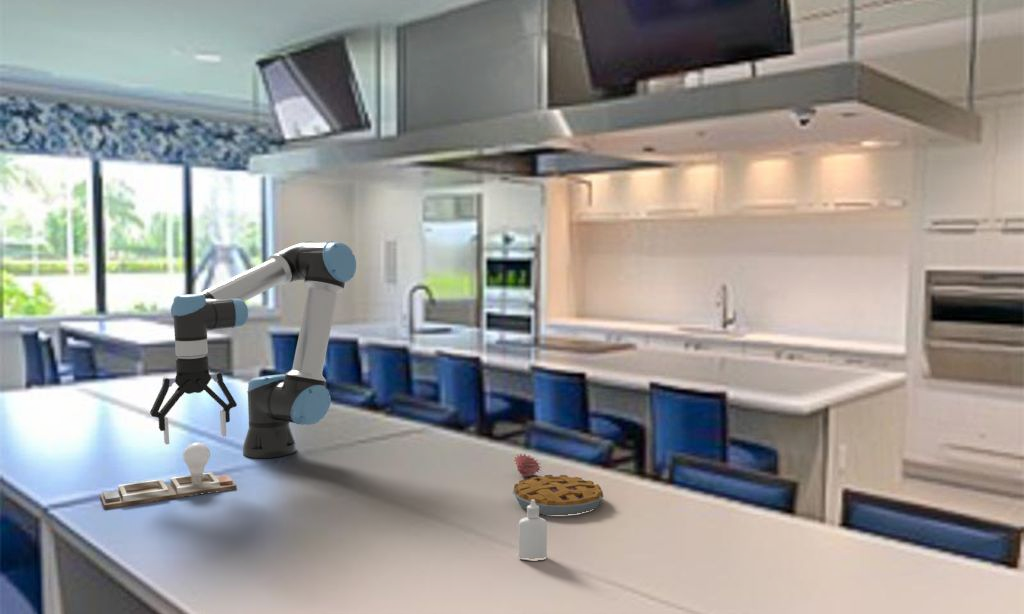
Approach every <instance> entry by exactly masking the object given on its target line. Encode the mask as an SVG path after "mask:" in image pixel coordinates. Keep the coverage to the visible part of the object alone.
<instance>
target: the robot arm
mask: <svg viewBox="0 0 1024 614" xmlns="http://www.w3.org/2000/svg"><path fill="white" fill-rule="evenodd" d="M356 259H357V258H356V256H355V254H354V253H353V250H352V249H351V247H349V245H347V244H346V243H343V242H340V241H339V242H338V241H332V240H331V241H303V242H299V243H296V244H294V245H290V246H289V247H286V248H284V249H282V250H280V251H278V252H276V253H274V254H271V255H270V256H269V257H268V259H267V261H264V262H263V263H260V264H259V265H256V266H254V267H252V268H250V269H248V270H246V271H243V272H242V273H240V274H237V275H235V276H233V277H231V278H229V279H226V280H224V281H223V282H221V283H218V284H216V285H214V286H212V287H210V288H208V289H205V290H203V291H201V292H199V293H189V294H178V295H176V296H175V297H174V298H173V301H172V305H171V307H170V314H171V317H172V319H173V326H174V329H173V331H174V332H173V333H174V343H175V344H174V346H175V356H177V357H176V359H175V368H176V369H175V371H176V374H175V377H167V376H164V377H163V378H162V383H161V384H162V386H161V388H160V390H159V392H158V395H157V397H156V399H155V401H154V403H153V405H152V408H151V409H150V411H149V415H151V417H153V418H157V419H158V429H159V431H160V432H163V440H164V444H165V445H169V444H170V431H169V430H170V429H169V418H168V416H167V415H168V413H169V412H170V410H172V409H173V407H174V406H175V404H176V403H177V402H178V401H179V400H180V398H181V397H182V396H183V395H184V394H187V395H190V394H194V393H197V394H198V393H203V391H205V392H206V393H207V395H209V396H210V397H211V398H212V399H213V400H214V401H215V402H216V403H217V404H219V406H221V408H222V409H219V417H220V421H219V422H220V435H221V436H222V437H227V423H229V422H230V421H231V417H230V414H231V413H230V412H231V409H232V408H235V407H237V406H238V405H237V402H236V400H235V399H234V397H233V396H232V393H231V392H230V390H229V389H228V387H227V386H226V384H225V382H224V378H223V374H222V373H221V372H219V371H216V372H215V373H211V374H210V371H209V370H210V369H209V368H210V367H209V357H208V356H207V354H209V353H208V352H209V349H208V348H209V347H208V331H212V330H220V329H222V330H223V329H231V328H232V329H234V328H238V327H242V326H244V325H245V324H246V322H247V321H248V318H249V309H248V308H249V307H248V305H247V304H246V302H247V301H248V300H250V299H252V298H254V297H256V296H258V295H260V294H262V293H264V292H267V291H268V290H271V289H272V288H274V287H276V286H278V285H283V286H284V285H288V284H289V283H291V282H296V281H303V284H304V285H305V286H306V288H307V292H306V297H305V304H304V308H303V312H302V318H301V324H300V328H299V334H298V339H297V342H296V343H297V344H296V348H295V353H294V359H293V363H292V368H291V370H289V371H288V372H286V373H285V374H284V373H282V374H273V375H262V376H258V377H253V378H251V379H250V380H249V381H248V384H247V386H248V387H247V404H248V405H247V411H248V428H247V432H246V436H245V438H244V442H243V446H242V454H243V455H244V456H246V457H247V458H254V459H273V458H279V457H280V458H281V457H285V456H289V455H291V454H293V453H295V452H296V449H297V448H296V440H295V438H294V435H293V431H292V429H291V427H290V423H293V424H296V425H301V426H303V425H305V426H311V425H315V424H318V423H320V421H321V420H323V419H324V418H325V416H326V415H327V414H328V412H329V409H330V406H331V402H332V400H331V395H330V391H329V390H328V388H326V382H327V380H326V378H325V377H324V376H323V370H324V367H325V366H324V365H325V360H326V355H327V350H328V345H329V339H330V335H331V330H332V325H333V324H332V323H333V318H334V313H335V309H336V303H337V299H338V295H340V293H341V292H344V290H345V289H344V288H345V284H346V283H347V282H348V281H351V279H352V278H353V277H354V276H355V274H356V271H357V260H356ZM211 380H213V381H214V382H216V383H217V384H218V387H219V388H220V390H221V392H222V393H223V395H224V397H225V398H226V400H227V402H228V403H226V401H224V400H223V399H222V398H221V397H220V396H219V395H218V394H217V393H216V392H215V391H213V389H212V388H210V387H209V386H208V384H209V383H210V381H211ZM174 383H175V384H176V386H178V387H177V388H176V389H175V391H174V393H173V394H172V395H171V397H170V398H169V399H168V400H167V402H166V403H165V404H164V405H163V406H162V404H163V402H164V400H165V398H166V396H167V394H168V391H169V389H170V387H172V386H173V384H174ZM161 406H162V408H161Z"/></svg>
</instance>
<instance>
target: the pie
mask: <svg viewBox="0 0 1024 614" xmlns="http://www.w3.org/2000/svg"><path fill="white" fill-rule="evenodd" d="M512 494H513V496H515V498H516V500H517V501H518V504H519V505H520V506H521V507H522V508H523V509H524V510H525V509H526V510H525V511H527V506H528V505H530V504H531V500H532V499H534V500H535V504H536V505H537V506H539V514H543V515H542V516H544V515H568V514H577V513H582V512H586V511H590V510H592V509H594V508H595V507H597V508H598V506H599V503H600V501H601V499H603V498H604V491H603V490H602V488H601V486H600V484H595V483H594V481H593V480H585V479H582V477H580V476H579V477H578V476H575V477H570V476H569V475H567V474H560V475H558V476H557V475H556V476H553V475H552V474H544V476H540V477H539V476H530V478H529V479H525V478H524V479H519V481H518V483H515V484H514V487H513V489H512ZM595 509H596V508H595ZM595 509H594V510H595ZM592 511H593V510H592Z"/></svg>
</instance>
